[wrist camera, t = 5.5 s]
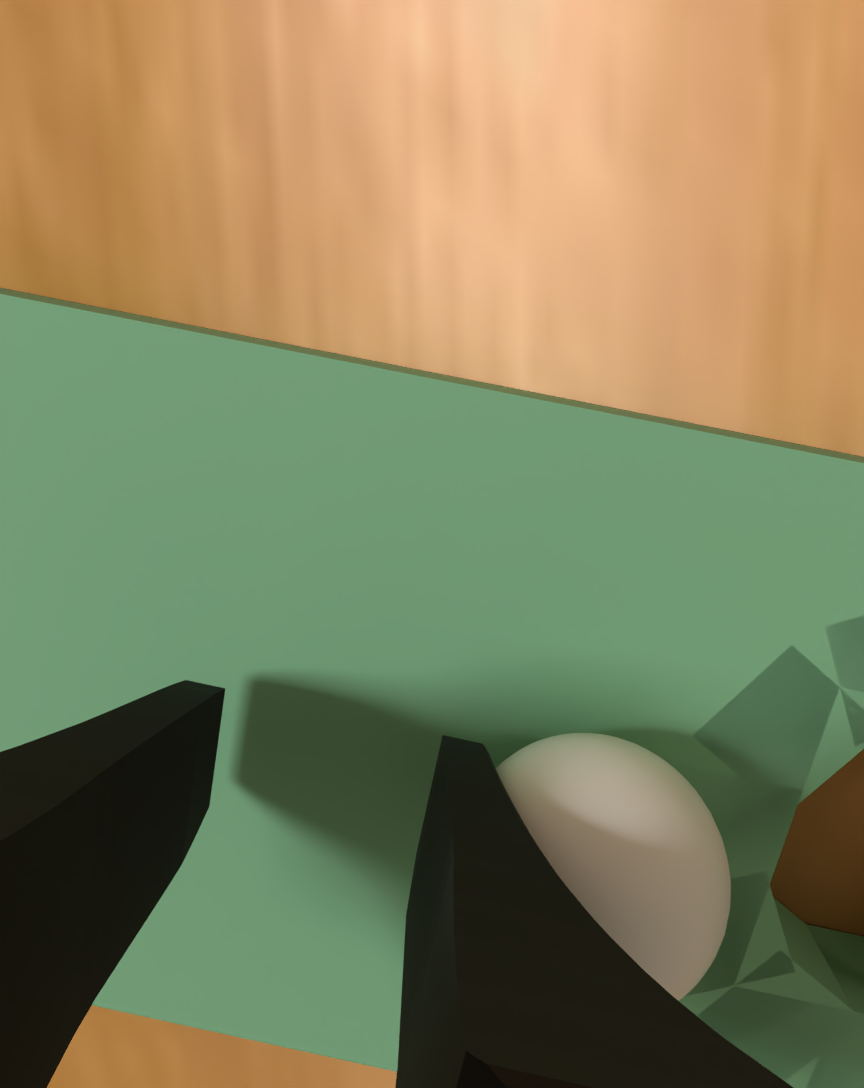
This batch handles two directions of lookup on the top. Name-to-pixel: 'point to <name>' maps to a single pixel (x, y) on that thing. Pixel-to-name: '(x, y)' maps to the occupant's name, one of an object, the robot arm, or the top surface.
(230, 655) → the green
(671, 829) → the ball
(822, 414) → the top surface
